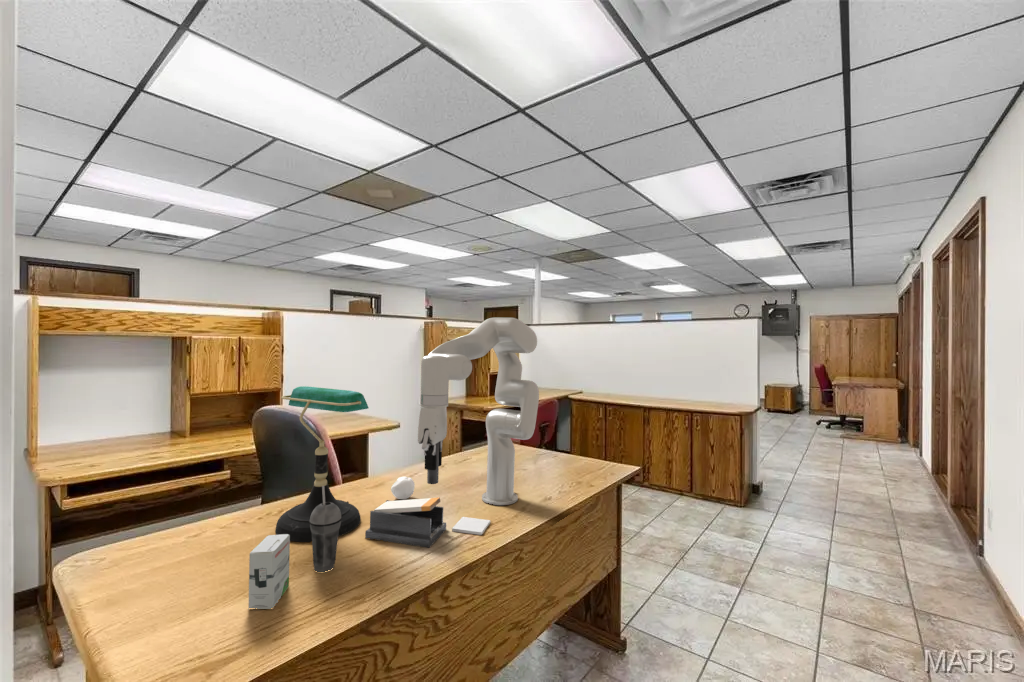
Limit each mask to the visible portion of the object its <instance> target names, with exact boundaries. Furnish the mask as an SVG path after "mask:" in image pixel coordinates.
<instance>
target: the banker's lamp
mask: <svg viewBox="0 0 1024 682" xmlns="http://www.w3.org/2000/svg"><path fill="white" fill-rule="evenodd" d="M281 399H282V400H288V406H291V407H299V408H303V409H302V410H301V413H300V415H299V421H300V423H301V425H303V427H304V428H306V430H307V431H308V432H309V433H310V434H311V435H312V436H313V437H314V438H315V439H316V440H317V441H318V442H319V446H318V447H317V448H316V449H315V450H314V455H315V457H314V458H315V461H314V472H313V473H314V478H315V480H314V482H313V486H312V488H311V489H310V490H311V491H310V492H309V495H308V496H307V498H306V500H305V501H304V502H302V503H299V504H297V505H295V506H293V507H291V508H290V509H287V510H286V511H285V512H283V514H282V515H281V516H279V518H278V520H276V521H277V522H276V525H275V531H274V532H275V535H281V534H288V535H290V542H299V543H310V542H311V541H312V532H311V529H310V524H309V521H310V517H311V514H312V512H313V510H314V509H315V508H316V507H317V506H318V505H319V504H321V503H323V495H322V486H324V489H325V502H331V503H334V504H335V505H337V506H338V507H339V509H340V512H341V517H342V520H341V524H340V528H339V534H338V537H341V536H344V535H347V534H348V533H350V532H351V531H353V530H355V529H356V528H358V526H359V525H360V524H361V521H362V519H361V514H360V511H359V509H358V508H357V507H356V506H355V505H353V504H352V503H350V502H349V500H347V501H344V500H341V499H336V498H335V497H334V495H333V493H332V491H331V489H330V487H329V484H328V480H327V479H326V478H327V476H328V472H329V471H328V454H329V449H328V447H326V446H325V440H324V439H321V438H320V437H319V436H318V434H317V433H316V432H315V431H314V430H313V429H312V428H311V427H310V426H309V425H308V424H307V423H306V421H305V420H304V419H303V418H304V415H305V413H306V412H307V409H314V410H321V411H330V412H336V413H350V412H351V413H352V412H355V411H357V412H358V411H363V410H367V409H369V406H368V402H367V401H366V398H365V396H364V395H363V393H361V392H359V391H356V390H355V391H353V390H348V389H347V390H346V389H337V388H329V387H326V388H325V387H319V386H318V387H317V386H309V385H308V386H307V385H305V386H303V385H302V386H296V387H295V388H293V389H292V391H291V394H288V395H282V396H281ZM311 543H312V542H311Z"/></svg>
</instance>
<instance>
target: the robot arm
mask: <svg viewBox="0 0 1024 682" xmlns="http://www.w3.org/2000/svg"><path fill="white" fill-rule="evenodd" d="M537 346H538V337H537V335H536V332H535V331H534V330H533V329H532V328H531V327H530V326H528V325H527V324H526V323H524V321H522V320H520V319H519V318H516V317H490V318H487V319H485V320H484V321H482V322H481V323H480V324H479V325H477V326H476V327H475V328H474V329H472V330H471V331H470V332H469V333H468V334H464V335H461V336H459V337H456V338H454V339H451V340H449V341H445V342H443V343H442V344H440V345H438V346H436V347H435V348H434V349H433V350H432V351H430V352H429V353H428V355H424V356H423V357H422V358H421V360H420V361H421V362H420V400H419V402H420V405H419V406H420V410H419V411H420V412H419V416H418V417H419V418H418V427H417V428H418V430H417V443H418V444H419V445H421V444H422V445H421V450H423V453H424V470H436V466H437V455H435V452H436V443H438V442H439V467H441V466H442V462H443V461H442V460H443V458H442V457H443V453H442V452H443V442H444V440H445V439H446V437H447V433H448V411H447V410H448V409H447V407H449V388H450V387H449V385H450V383H449V382H450V381H464V380H466V379H467V378H468V377H470V375H471V374H472V371H473V363H472V361H471V360H475V359H479V358H483V357H485V356H486V355H487V354H488V353H489V352H490V351H491V350H493V351H494V353H495V355H496V358H497V361H498V371H497V378H496V383H495V384H496V385H495V392H494V399H495V401H496V403H497V404H499V405H502V406H508V407H518V408H520V410H516V409H515V410H514V409H507V408H494V409H492V410H490V411H489V412H488V413H487V415H486V417H485V428H486V429H485V430H486V435H487V465H486V467H487V468H486V469H487V471H486V492H483V494H481V499H482V501H483V502H484V503H486V504H488V503H489V504H490V505H492V504H493V506H506V505H507V506H508V505H512V504H515V503H517V501H518V500H519V499H518V498H519V497H518V494H516V493H515V490H514V488H515V460H516V458H515V455H516V454H515V453H516V449H515V445H514V442H513V441H512V439H515V440H516V439H517V440H523V441H525V440H529V439H531V438H532V437H533V435H534V433H535V429H536V423H537V416H538V410H539V409H538V408H539V403H540V391H539V387H538V384H537V383H536V382H535V381H532V380H527V379H522V372H523V364H522V362H521V360H520V358H519V357H518V355H517V354H530V353H533V352H534V351H535V350H536V348H537ZM429 441H432V442H431V443H429ZM429 446H432V448H431V447H429ZM489 504H488V505H489Z"/></svg>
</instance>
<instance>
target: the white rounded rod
mask: <svg viewBox="0 0 1024 682" xmlns="http://www.w3.org/2000/svg"><path fill="white" fill-rule="evenodd" d="M431 442H432V441H429V443H431ZM429 447H431V448H432V446H429ZM435 455H437V466H436V470H427V477H426V478H427V479H426V484H428V485H436V484H439V473H440V472H439V469H440V468H439V467H440V466H439V442H438V443H436V452H435Z"/></svg>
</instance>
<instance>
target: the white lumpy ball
mask: <svg viewBox="0 0 1024 682" xmlns="http://www.w3.org/2000/svg"><path fill="white" fill-rule="evenodd" d="M414 490H415V481H414V480H413V479H412V477H407V476H399V477H398V478H397V479H396V480H395V482H394V483H392V485H391V488H390V492H391V493H392V495H393V496H394V497H395V498H396V499H398V500H408V499H409V498H410V497H411V496H412V495H413V494H414V492H415V491H414Z"/></svg>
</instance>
